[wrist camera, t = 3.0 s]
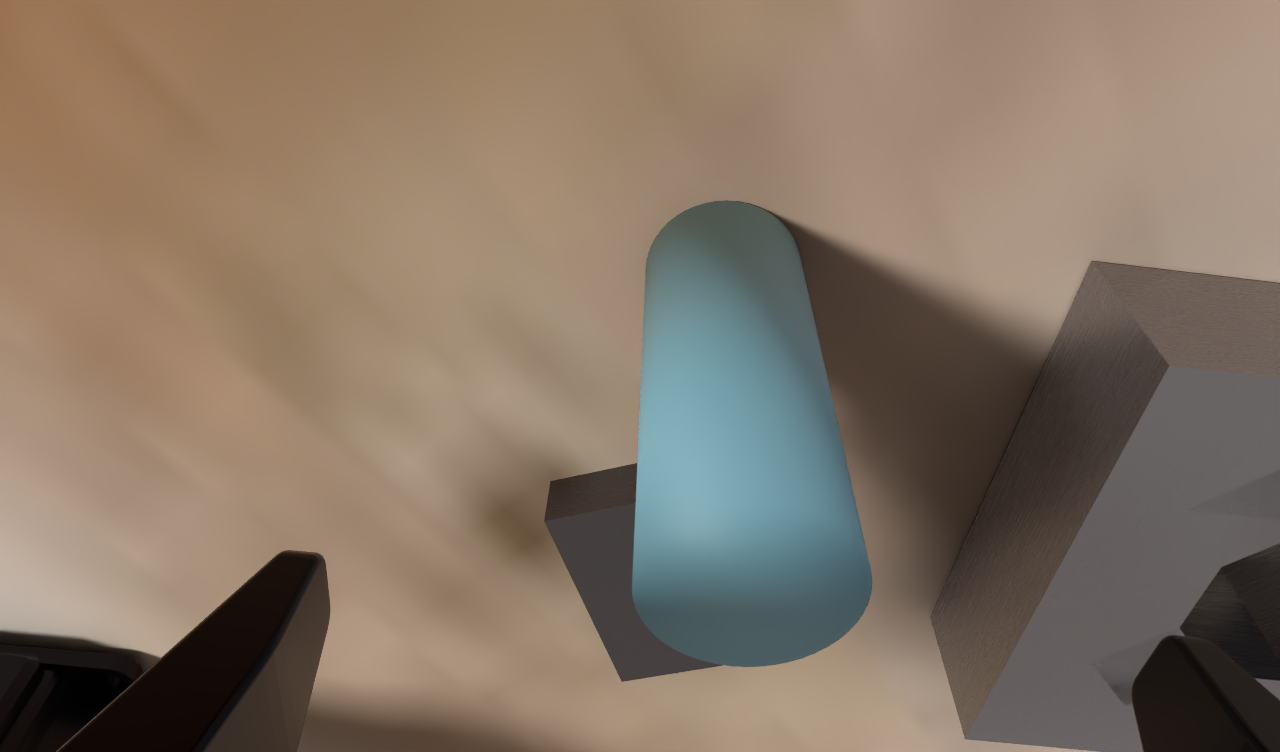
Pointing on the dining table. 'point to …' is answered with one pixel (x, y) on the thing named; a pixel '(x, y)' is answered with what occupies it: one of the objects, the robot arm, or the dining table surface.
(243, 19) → the dining table surface
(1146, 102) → the dining table surface
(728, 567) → the round bit
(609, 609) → the charcoal rectangular brick
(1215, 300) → the socket block
